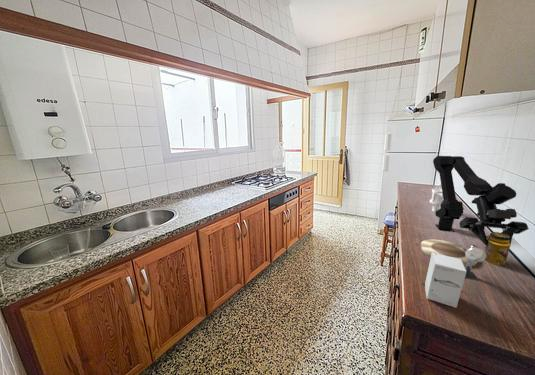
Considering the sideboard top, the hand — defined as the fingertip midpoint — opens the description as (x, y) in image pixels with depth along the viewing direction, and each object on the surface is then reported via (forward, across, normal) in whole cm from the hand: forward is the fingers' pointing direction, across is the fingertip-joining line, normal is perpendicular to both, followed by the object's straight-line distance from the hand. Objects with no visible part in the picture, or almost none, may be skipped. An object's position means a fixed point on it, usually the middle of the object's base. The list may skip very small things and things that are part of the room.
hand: (497, 246), depth 82 cm
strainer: (-37, -1, +46) cm, 59 cm away
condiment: (+5, 0, +6) cm, 8 cm away
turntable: (+4, -14, +5) cm, 16 cm away
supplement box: (+25, -26, -14) cm, 38 cm away
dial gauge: (+13, -14, -3) cm, 19 cm away
